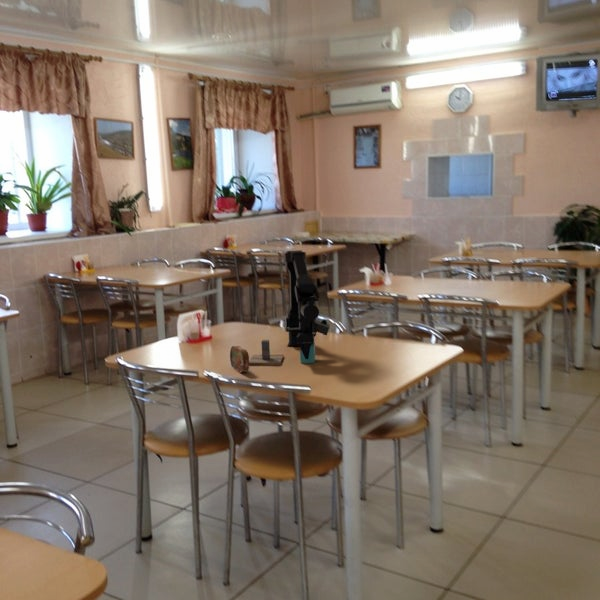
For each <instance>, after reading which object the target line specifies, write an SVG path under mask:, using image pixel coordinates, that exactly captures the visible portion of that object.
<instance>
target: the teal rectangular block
mask: <svg viewBox="0 0 600 600" xmlns="http://www.w3.org/2000/svg"><path fill="white" fill-rule="evenodd" d="M299 352H300V353H299V355H300V357H299V358H300V364H315V363H316V342H314V343H313V344H312V345H311V346H310V352H309V358H308V359H305V357H304V355H303V353H302V351H301V349H300V348H299Z"/></svg>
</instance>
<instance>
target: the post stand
mask: <svg viewBox="0 0 600 600" xmlns="http://www.w3.org/2000/svg"><path fill="white" fill-rule="evenodd" d="M270 349H271V348H270V339H262V340H261V354H252V356H251V357H250V358H249V366H281V364H282V361H283V360H284V358H285V356H284V354H270V353H271V352H270V351H271V350H270Z"/></svg>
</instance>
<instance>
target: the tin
mask: <svg viewBox="0 0 600 600" xmlns="http://www.w3.org/2000/svg"><path fill="white" fill-rule="evenodd" d="M249 356H250V355H249V352H248V351H247V349H245V348H243V347H242V346H241V345H236V346H235V345H233V346H231V348H230V351H229V359H230V360H229V361H230V366H231V367H233V368H234V369H233V368H232V369H233V370H234V371H236V370H237V372H238V373H239V374H241V373H247V372H248V371H249V369H250V365H249V361H250V357H249Z"/></svg>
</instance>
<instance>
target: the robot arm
mask: <svg viewBox="0 0 600 600" xmlns="http://www.w3.org/2000/svg"><path fill="white" fill-rule="evenodd" d="M306 262H307V252H306V251H302V250H300V249H298V250H286V251H285V253H283V263H285V264H284V265H285V267H286V269H287V270H288V273H289V276H288V277H289V307H288V309H287V311H286V317H285V318H284V324H283V325H284V326H283V327H284V331H285V333H288V342H287V344H286V345H287V347H299V350H300V349H301V351H302V353H303V355H304V357H305V359H308V358H309V352H310V346H311V345H312V344H313V343H315V337H316V336H317V333H320V334H322V335H324V336H328V333H329V330H330V327H331V325H330V324H329V323H328V321H327V320H326V319H322V320H321V321H319V320H318V321H317V320H316V319H317V318H318V317H319V316H320V310H319V308H318V306H316V305H315V302H318V301H319V298H320V293H319V290H318V286H317V284H316V283H315V282H314V279H313V278H312V277H311V276H309V273H308V269H307V264H306Z"/></svg>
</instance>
